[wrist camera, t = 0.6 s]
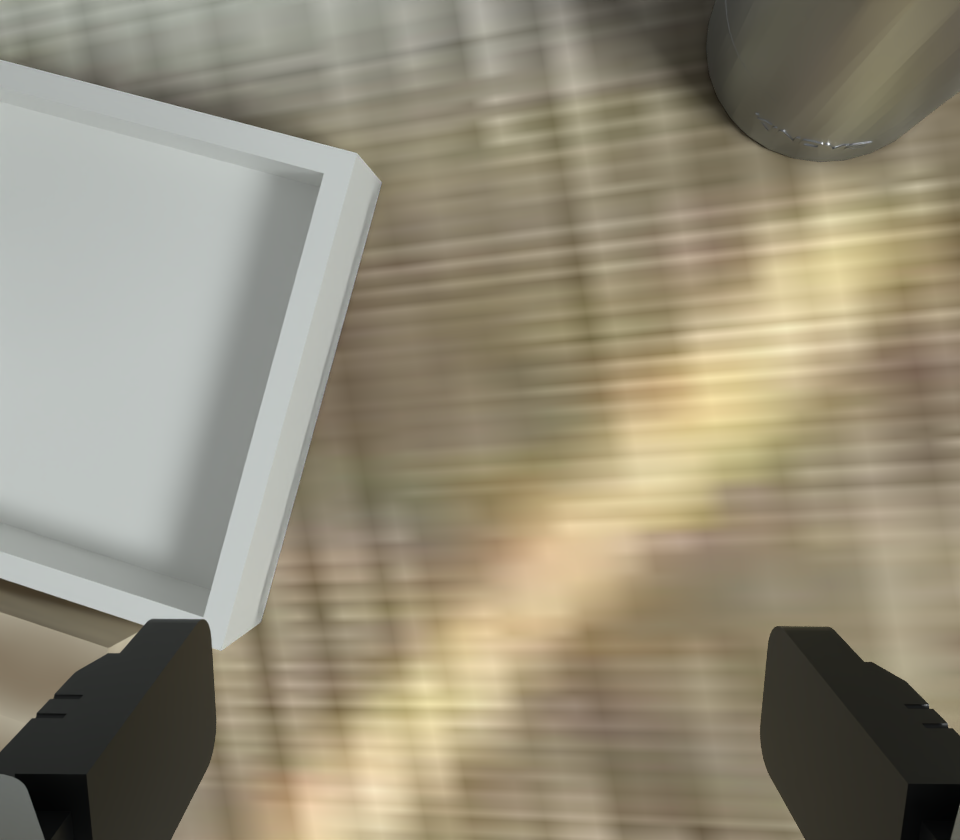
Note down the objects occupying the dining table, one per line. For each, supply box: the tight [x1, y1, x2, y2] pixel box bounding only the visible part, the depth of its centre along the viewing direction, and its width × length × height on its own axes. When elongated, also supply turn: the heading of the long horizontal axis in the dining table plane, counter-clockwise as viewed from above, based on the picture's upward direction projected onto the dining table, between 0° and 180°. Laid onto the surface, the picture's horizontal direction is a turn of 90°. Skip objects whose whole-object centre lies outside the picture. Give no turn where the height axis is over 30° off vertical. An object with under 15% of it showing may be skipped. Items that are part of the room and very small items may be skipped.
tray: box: [0, 60, 382, 651], centre depth 33 cm, size 19×19×4 cm
